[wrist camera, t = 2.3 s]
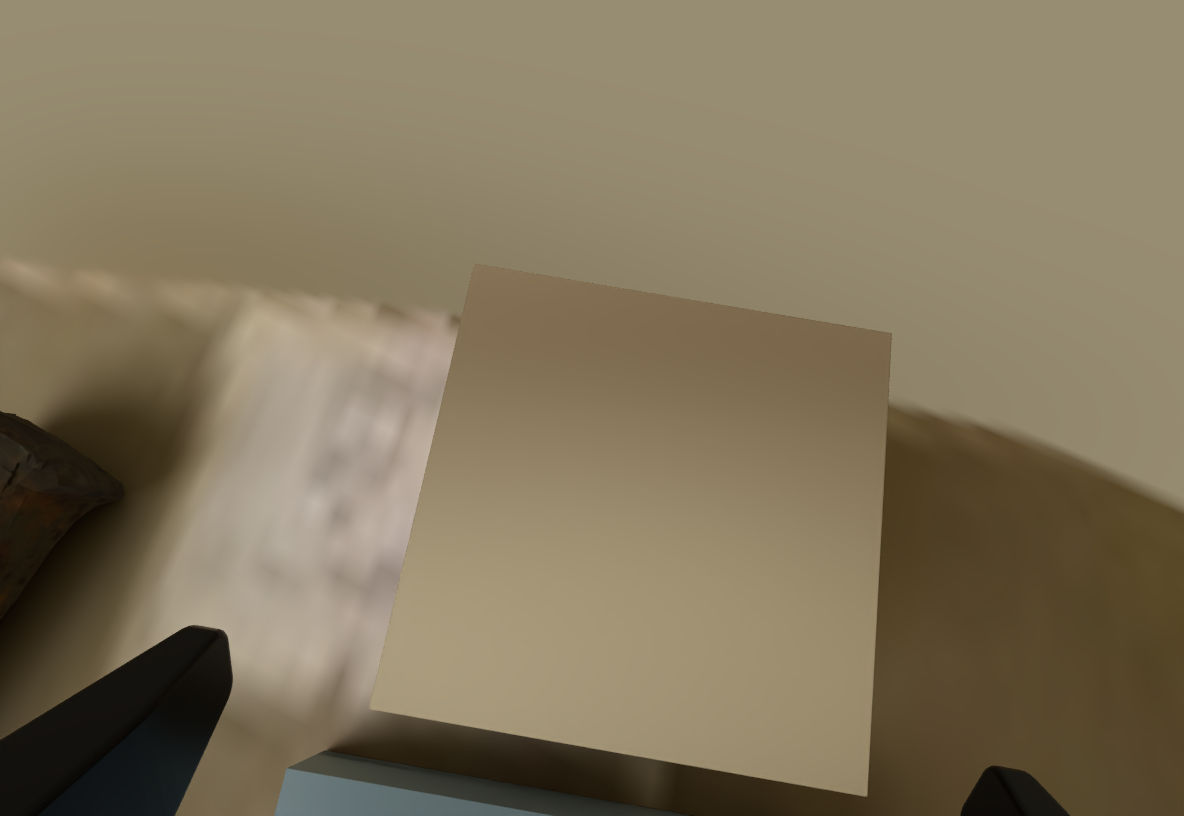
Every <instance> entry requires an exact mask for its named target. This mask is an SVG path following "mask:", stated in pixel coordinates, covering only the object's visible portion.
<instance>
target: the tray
mask: <svg viewBox="0 0 1184 816" xmlns="http://www.w3.org/2000/svg"><path fill="white" fill-rule="evenodd" d="M274 816H692V815H686V814H680V813H675V812H669V811H663V810H658V809H652V808H647V807H641V806H635V805H630V804H624V803H618V802H613V801H607V800H601V799H596V798H590V797H585V796H579V795H573V794H568V793H562V792H556V791H551V790H545V789H539V788H534V787H528V786H523V785H517V784H511V783H506V782H500V781H494V780H489V779H483V778H478V777H472V776H466V775H461V774H455V773H449V772H444V771H438V770H432V769H427V768H421V767H416V766H410V765H404V764H399V763H393V762H387V761H382V760H376V759H370V758H365V757H359V756H354V755H348V754H342V753H337V752H331V751H323V752H321V753H319V754H316V755H314V756H312V757H310V758H308V759H306V760H304V761H301V762H299V763H297V764H295V765H293V766H291V767H289V768H287V769H286V773H285V777H284V781H283V785H282V789H281V792H280V796H279V800H278V804H277V808H276V811H275V815H274Z"/></svg>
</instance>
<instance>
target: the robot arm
mask: <svg viewBox="0 0 1184 816" xmlns="http://www.w3.org/2000/svg"><path fill="white" fill-rule="evenodd" d="M232 683H233V674H232V666H231V658H230V650H229V641H228V637H227V635H226V633H225V632H224V631H223V630H220V629H215V628H210V627H204V626H198V625H191V626H188V627H185V628H183V629H181V630H180V631H178V632H176V633H175V634H173V635H171V636H170V637H168V638H166V639H165V640H163V641H162V642H160V643H158V644H157V645H155V646H153V647H152V648H150V649H148V650H147V651H145V652H144V653H142V654H140V655H139V656H137V657H135V658H134V659H132V660H130V661H129V662H127V663H126V664H124V665H122V666H121V667H119V668H117V669H116V670H114V671H113V672H111V673H109V674H108V675H106V676H104V677H103V678H101V679H99V680H98V681H96V682H95V683H93V684H91V685H90V686H88V687H86V688H85V689H83V690H81V691H80V692H78V693H77V694H75V695H73V696H72V697H70V698H68V699H67V700H65V701H63V702H62V703H60V704H59V705H57V706H55V707H54V708H52V709H50V710H49V711H47V712H45V713H44V714H42V715H41V716H39V717H37V718H36V719H34V720H32V721H31V722H29V723H28V724H26V725H24V726H23V727H21V728H19V729H18V730H16V731H14V732H13V733H11V734H10V735H8V736H6V737H5V738H3V739H1V740H0V816H175V814H176V812H177V810H178V808H179V806H180V803H181V801H182V799H183V797H184V795H185V793H186V790H187V788H188V786H189V784H190V782H191V779H192V777H193V775H194V773H195V771H196V769H197V766H198V764H199V762H200V760H201V758H202V755H203V753H204V751H205V749H206V747H207V745H208V742H209V740H210V738H211V736H212V734H213V731H214V729H215V727H216V725H217V723H218V720H219V718H220V716H221V714H222V712H223V710H224V707H225V705H226V703H227V701H228V698H229V696H230V693H231V689H232ZM960 816H1070V815H1069V814H1068V813H1067V812H1066V811H1065V810H1064V809H1063V808H1062V807H1061V805H1060V804H1059V803H1058V802H1057V801H1056V800H1055V799H1054V798H1053V797H1052V796H1051V795H1050V794H1049V793H1048V792H1047V791H1046V790H1045V789H1044V788H1043V787H1042V786H1041V784H1040V783H1039V782H1038V781H1037V780H1036V779H1035V778H1034V777H1032V776H1031V775H1030V774H1028V773H1027V772H1025V771H1022V770H1018V769H1012V768H1006V767H1001V766H990V767H988V768H987V769H985V771H984V772H983V774H982V775H981V777H980V779H979V780H978V782H977V783H976V785H975V787H974V788H973V790H972V792H971V793H970V795H969V797H968V798H967V800H966V802H965V803H964V805H963V807H962V811H961V815H960Z"/></svg>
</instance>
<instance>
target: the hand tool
mask: <svg viewBox="0 0 1184 816" xmlns="http://www.w3.org/2000/svg"><path fill="white" fill-rule="evenodd" d="M123 496H124V489H123V486H122V484H121V483H120V482H118V481H117V480H116V479H115V478H113V477H112V476H110V475H109V474H108V473H107V472H106V471H104V470H103V469H102V468H101V467H99V466H98V465H97V464H96V463H94V462H93V461H91V460H90V459H88V458H87V457H85V456H84V455H82V454H81V453H79V452H78V451H76V450H75V449H73V448H72V447H70V446H69V445H68V444H67V443H65V442H63V441H61V440H60V439H58V438H56V437H55V436H53V435H51V434H50V433H48V432H46V431H45V430H43V429H41V428H40V427H38V426H36V425H35V424H33V423H32V422H30V421H28V420H26V419H23V418H20V417H19V416H16V414H10V413H3V412H1V411H0V620H1V619H2V617H3V616H4V615H5V613H6V612H7V610H8V609H9V608H10V607H11V606H12V605H13V604H14V603H15V602H16V600H17V599H18V597H19V596H20V594H21V592H22V591H23V589H24V588H25V586H26V585H27V583H28V582H29V580H30V579H31V577H32V576H33V575H34V573H35V572H36V571H37V569H38V568H39V566H40V565H41V564H42V562H43V561H44V560H45V558H46V557H47V555H48V554H49V553H50V551H51V550H52V549H53V547H54V546H55V544H56V543H57V542H58V541H59V540H60V539H61V537H62V536H63V535H64V534H65V533H66V532H67V530H68V529H69V528H70V527H71V526H72V525H73V523H74V522H76V521H77V520H78V519H79V518H81V517H82V516H83V515H84V514H86V513H87V512H88V511H90V510H91V509H93V508H95V507H96V506H98V505H102V504H106V503H110V502H113V501H117V500H120V499H121V498H122V497H123Z"/></svg>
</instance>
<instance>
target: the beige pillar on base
mask: <svg viewBox="0 0 1184 816" xmlns="http://www.w3.org/2000/svg"><path fill="white" fill-rule="evenodd" d="M891 337H892V334H891V333H886V332H880V331H874V330H868V329H862V328H856V327H850V326H844V325H838V324H832V323H827V322H821V321H814V320H808V319H803V318H797V317H791V316H785V315H779V314H772V313H767V312H761V311H755V310H749V309H743V308H737V307H731V306H725V305H719V304H713V303H707V302H701V301H695V300H689V299H683V298H677V297H671V296H665V295H659V294H653V293H647V292H641V291H635V290H629V289H623V288H617V287H611V286H606V285H599V284H594V283H588V282H582V281H576V280H570V279H564V278H557V277H552V276H546V275H540V274H534V273H528V272H522V271H516V270H510V269H504V268H498V267H492V266H486V265H480V264H474V267H473V272H472V276H471V280H470V284H469V289H468V293H467V297H466V301H465V305H464V310H463V314H462V318H461V322H460V326H459V331H458V335H457V339H456V343H455V348H454V352H453V356H452V360H451V364H450V369H449V373H448V377H447V381H446V386H445V390H444V394H443V398H442V402H441V407H440V411H439V415H438V419H437V424H436V428H435V432H434V436H433V440H432V445H431V449H430V453H429V457H428V462H427V466H426V470H425V474H424V479H423V483H422V487H421V491H420V495H419V500H418V504H417V508H416V512H415V517H414V521H413V525H412V529H411V533H410V538H409V542H408V546H407V550H406V555H405V559H404V563H403V567H402V571H401V576H400V580H399V584H398V588H397V593H396V597H395V601H394V605H393V609H392V614H391V618H390V622H389V626H388V631H387V635H386V639H385V643H384V647H383V652H382V656H381V660H380V664H379V669H378V673H377V677H376V681H375V686H374V690H373V694H372V698H371V702H370V707H369V709H372V710H378V711H383V712H389V713H395V714H400V715H406V716H412V717H417V718H423V719H429V720H434V721H440V722H446V723H451V724H457V725H463V726H468V727H474V728H480V729H485V730H491V731H497V732H502V733H508V734H514V735H519V736H525V737H531V738H536V739H542V740H548V741H553V742H559V743H565V744H570V745H576V746H582V747H587V748H593V749H599V750H604V751H610V752H616V753H621V754H627V755H633V756H638V757H644V758H650V759H655V760H661V761H667V762H672V763H678V764H684V765H689V766H695V767H701V768H706V769H712V770H718V771H723V772H729V773H734V774H740V775H746V776H751V777H757V778H763V779H768V780H774V781H780V782H785V783H791V784H797V785H802V786H808V787H814V788H819V789H825V790H831V791H836V792H842V793H848V794H853V795H859V796H865V797H867V790H868V771H869V752H870V733H871V715H872V696H873V677H874V658H875V640H876V621H877V602H878V583H879V565H880V546H881V527H882V508H883V490H884V471H885V452H886V433H887V415H888V396H889V377H890V357H891V340H892V338H891Z"/></svg>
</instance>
